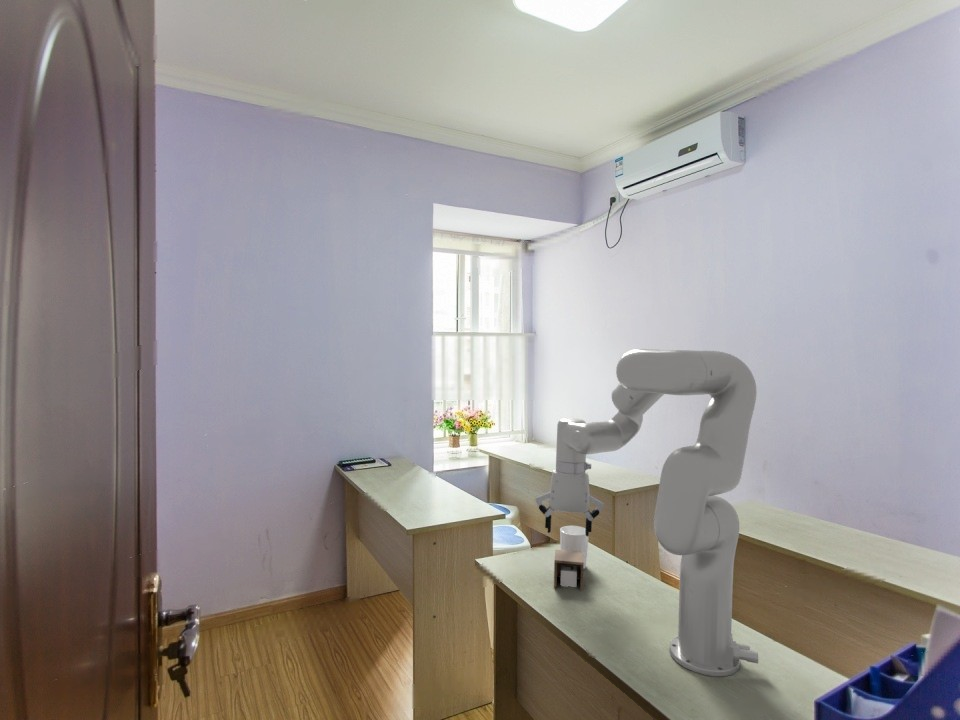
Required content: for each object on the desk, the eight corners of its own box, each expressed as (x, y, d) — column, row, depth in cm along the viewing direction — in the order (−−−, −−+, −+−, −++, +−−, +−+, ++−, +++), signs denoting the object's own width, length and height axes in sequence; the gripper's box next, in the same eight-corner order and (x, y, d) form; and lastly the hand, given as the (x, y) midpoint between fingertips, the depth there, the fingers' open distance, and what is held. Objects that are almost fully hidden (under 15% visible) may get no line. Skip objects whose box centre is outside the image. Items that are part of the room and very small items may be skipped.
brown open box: (582, 578, 139) (582, 551, 139) (583, 590, 132) (583, 562, 132) (554, 575, 140) (555, 549, 140) (553, 587, 133) (554, 560, 133)
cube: (576, 580, 138) (576, 565, 138) (576, 587, 134) (576, 571, 134) (560, 579, 138) (561, 564, 138) (560, 586, 134) (560, 570, 134)
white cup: (590, 571, 143) (591, 535, 143) (561, 571, 143) (562, 534, 143) (584, 560, 151) (585, 525, 151) (557, 560, 151) (557, 525, 151)
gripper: (604, 466, 138) (601, 530, 139) (537, 461, 141) (535, 524, 142) (606, 473, 131) (603, 541, 131) (535, 467, 134) (533, 534, 134)
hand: (567, 532), depth 136 cm, fingers open, 9 cm apart
